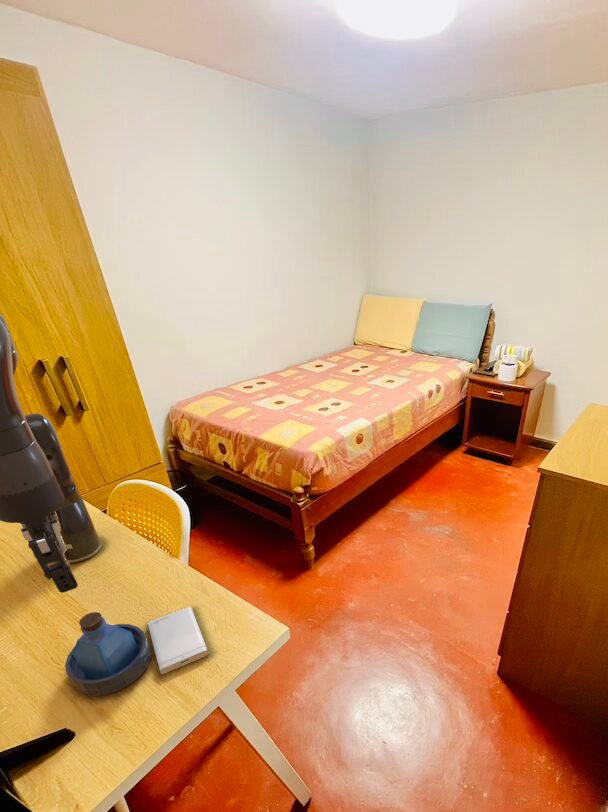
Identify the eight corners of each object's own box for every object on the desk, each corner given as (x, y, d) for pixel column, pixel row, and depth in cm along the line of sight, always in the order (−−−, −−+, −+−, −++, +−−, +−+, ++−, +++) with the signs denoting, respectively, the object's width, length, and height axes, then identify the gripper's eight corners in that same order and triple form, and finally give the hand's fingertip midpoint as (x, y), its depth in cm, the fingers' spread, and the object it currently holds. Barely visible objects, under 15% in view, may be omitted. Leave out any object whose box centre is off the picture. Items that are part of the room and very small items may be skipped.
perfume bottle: (116, 683, 73) (92, 638, 66) (85, 675, 73) (58, 630, 67) (140, 653, 78) (120, 609, 71) (111, 647, 78) (88, 602, 72)
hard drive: (146, 622, 82) (159, 669, 74) (191, 605, 86) (207, 649, 78) (149, 627, 83) (161, 675, 75) (192, 611, 87) (209, 654, 78)
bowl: (69, 659, 76) (60, 645, 74) (142, 627, 83) (136, 613, 80) (80, 710, 69) (71, 697, 66) (159, 671, 75) (154, 658, 73)
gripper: (58, 493, 51) (103, 589, 60) (45, 448, 59) (86, 538, 69) (-22, 513, 47) (39, 613, 56) (-23, 462, 55) (29, 555, 65)
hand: (65, 572), depth 62 cm, fingers open, 8 cm apart
